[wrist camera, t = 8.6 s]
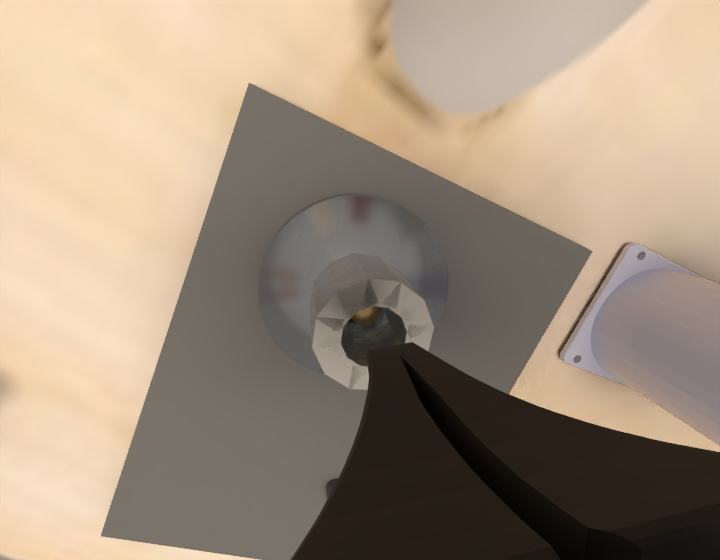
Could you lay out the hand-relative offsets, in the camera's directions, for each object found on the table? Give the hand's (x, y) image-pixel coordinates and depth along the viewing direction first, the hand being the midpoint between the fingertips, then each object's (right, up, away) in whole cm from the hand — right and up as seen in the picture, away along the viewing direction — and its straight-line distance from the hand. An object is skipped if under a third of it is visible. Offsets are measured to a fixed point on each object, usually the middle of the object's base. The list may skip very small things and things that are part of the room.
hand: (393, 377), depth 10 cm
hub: (-1, +3, +9) cm, 9 cm away
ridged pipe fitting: (-1, +2, +7) cm, 7 cm away
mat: (-2, -3, +11) cm, 11 cm away
